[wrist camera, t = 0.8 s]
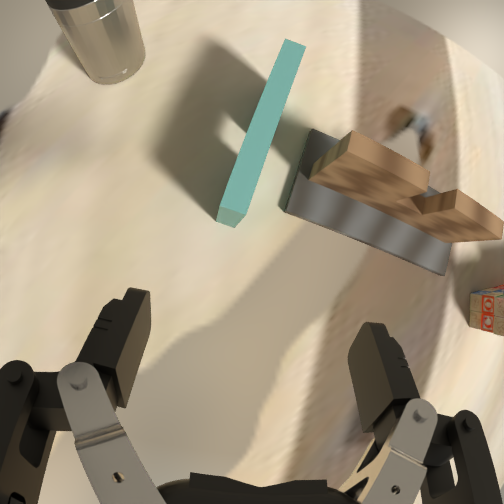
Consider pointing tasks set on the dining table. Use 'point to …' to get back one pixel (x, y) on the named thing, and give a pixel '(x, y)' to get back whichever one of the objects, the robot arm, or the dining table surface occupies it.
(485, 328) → the stack of blocks
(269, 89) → the teal plate
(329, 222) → the halving stand
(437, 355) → the dining table surface
